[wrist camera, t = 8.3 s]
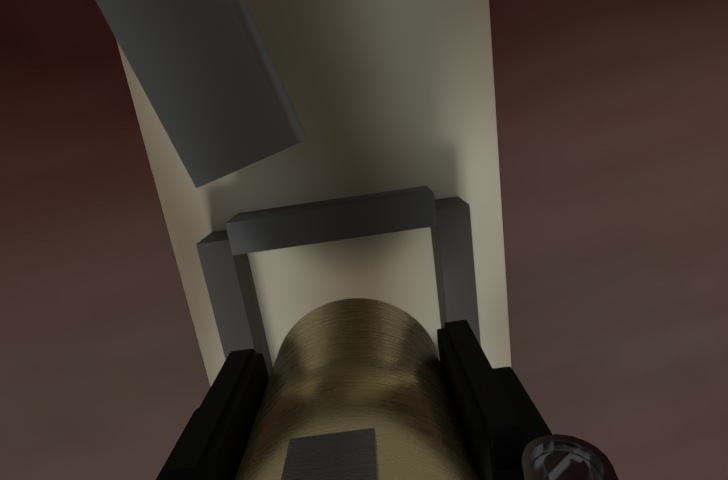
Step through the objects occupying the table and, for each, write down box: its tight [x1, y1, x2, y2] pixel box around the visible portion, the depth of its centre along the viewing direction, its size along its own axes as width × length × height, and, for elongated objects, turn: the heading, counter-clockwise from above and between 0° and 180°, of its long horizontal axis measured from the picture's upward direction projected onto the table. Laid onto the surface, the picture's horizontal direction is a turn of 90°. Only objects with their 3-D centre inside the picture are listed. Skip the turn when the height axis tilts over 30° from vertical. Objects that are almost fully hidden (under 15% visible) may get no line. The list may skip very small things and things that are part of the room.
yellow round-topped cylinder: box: [235, 298, 479, 480], centre depth 8 cm, size 5×4×7 cm
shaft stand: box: [96, 0, 511, 386], centre depth 14 cm, size 11×30×6 cm, turn 8°
